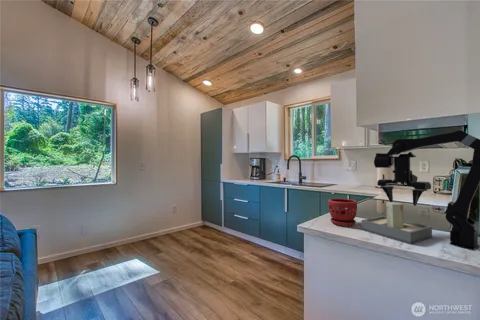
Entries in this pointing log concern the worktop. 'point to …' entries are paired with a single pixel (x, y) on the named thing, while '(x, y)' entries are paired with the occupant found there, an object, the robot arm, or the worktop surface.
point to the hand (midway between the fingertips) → (402, 203)
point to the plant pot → (343, 211)
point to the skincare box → (395, 215)
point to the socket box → (397, 230)
